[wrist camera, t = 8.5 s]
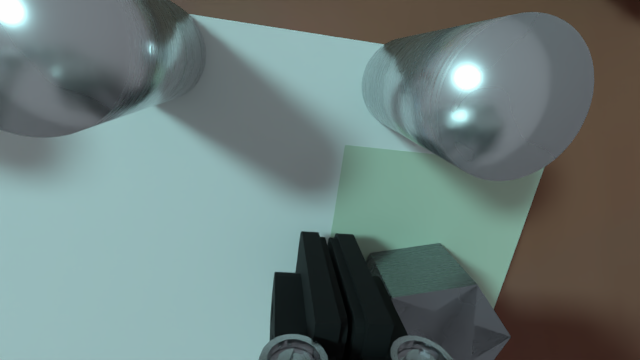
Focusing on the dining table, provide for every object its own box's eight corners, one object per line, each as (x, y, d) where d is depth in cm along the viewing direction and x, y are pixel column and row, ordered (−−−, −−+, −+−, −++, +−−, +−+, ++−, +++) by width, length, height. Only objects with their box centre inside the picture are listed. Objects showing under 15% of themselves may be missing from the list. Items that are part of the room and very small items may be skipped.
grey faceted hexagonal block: (466, 333, 14) (504, 387, 11) (342, 354, 13) (356, 414, 11) (474, 238, 12) (518, 278, 10) (334, 257, 12) (348, 304, 9)
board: (449, 382, 16) (460, 402, 15) (-198, 386, 12) (-239, 413, 11) (552, 73, 11) (577, 74, 10) (-414, -76, 8) (-514, -96, 7)
